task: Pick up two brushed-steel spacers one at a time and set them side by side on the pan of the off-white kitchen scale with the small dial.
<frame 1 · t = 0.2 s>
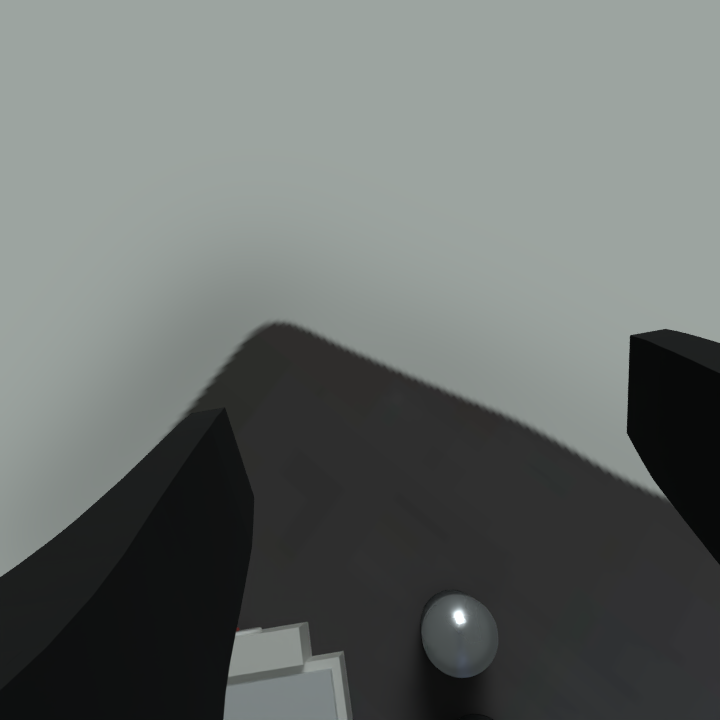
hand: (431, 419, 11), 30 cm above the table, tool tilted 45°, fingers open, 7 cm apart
spacer a: (452, 624, 37), on the table
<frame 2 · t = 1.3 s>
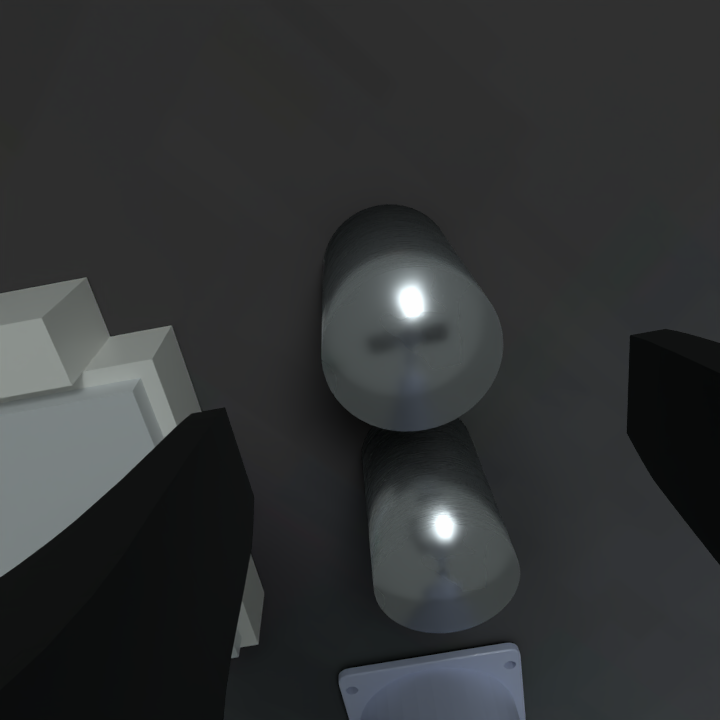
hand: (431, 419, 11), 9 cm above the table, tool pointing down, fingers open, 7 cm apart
spacer b: (417, 453, 22), on the table
spacer a: (387, 269, 19), on the table
scale: (62, 503, 22), on the table
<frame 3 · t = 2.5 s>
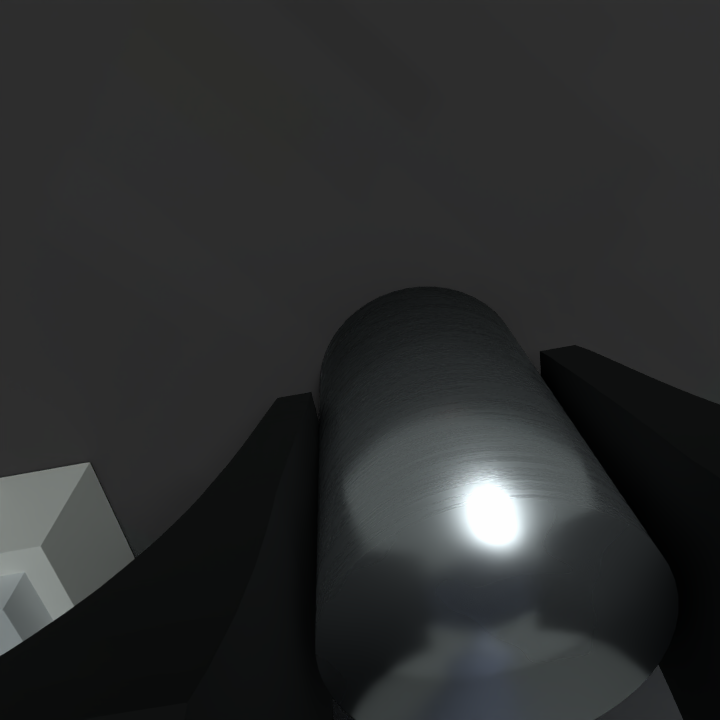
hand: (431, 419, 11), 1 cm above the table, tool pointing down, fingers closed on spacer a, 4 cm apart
spacer a: (420, 381, 12), on the table, touching gripper
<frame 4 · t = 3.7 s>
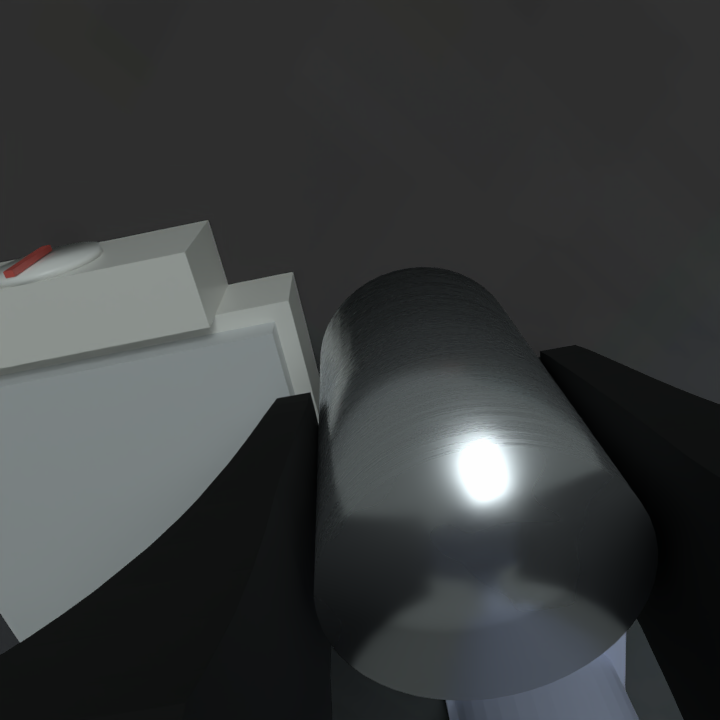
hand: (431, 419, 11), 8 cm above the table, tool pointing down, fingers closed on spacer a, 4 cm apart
spacer a: (417, 360, 12), point 6 cm above the table, touching gripper
scale: (166, 466, 21), on the table
when the fingers open (6 cm above the table, at t = 5.0 s): spacer a stays where it is, resting on scale.
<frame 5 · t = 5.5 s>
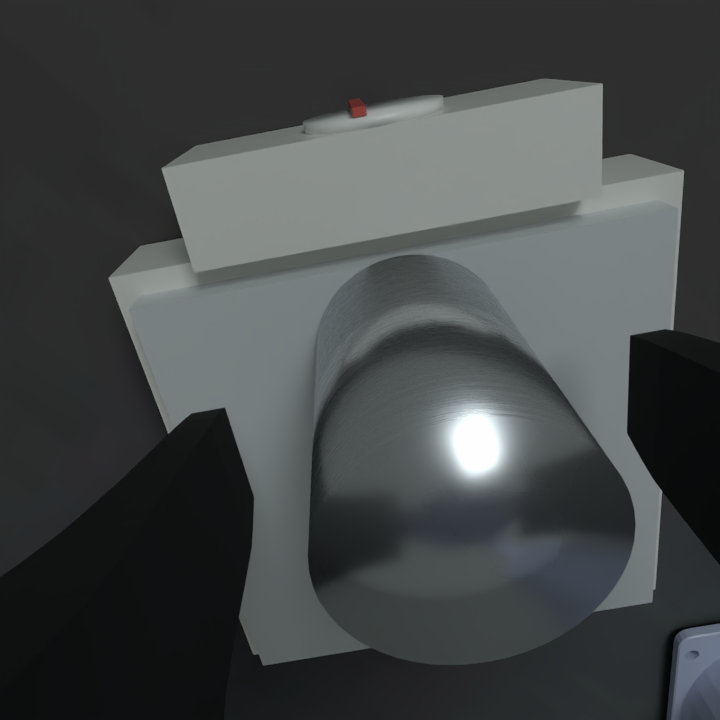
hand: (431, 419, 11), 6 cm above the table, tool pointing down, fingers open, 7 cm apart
spacer a: (411, 346, 13), point 3 cm above the table, touching scale
scale: (414, 409, 17), on the table
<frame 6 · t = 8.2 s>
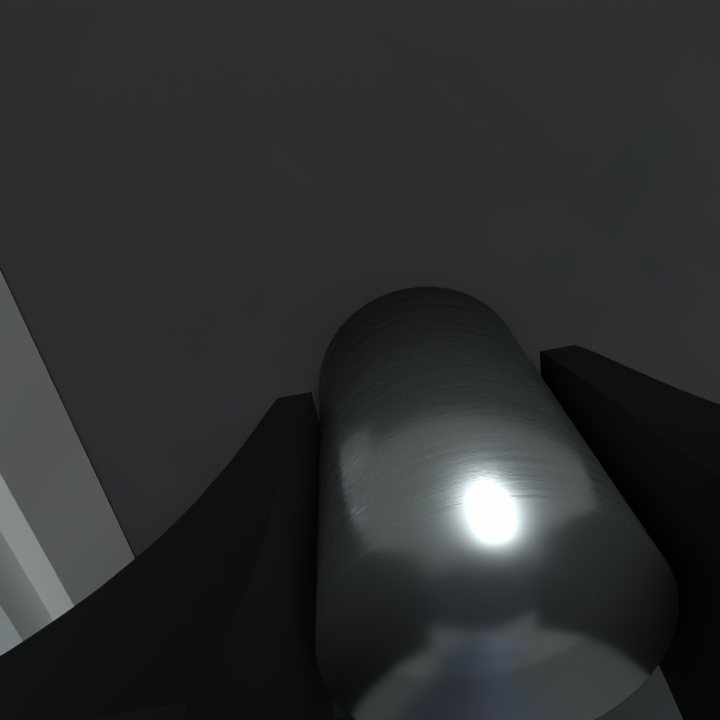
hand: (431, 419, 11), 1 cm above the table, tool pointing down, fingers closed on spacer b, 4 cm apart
spacer b: (420, 381, 12), on the table, touching gripper
when the fingers open (6 cm above the table, at t = 10.7 s): spacer b stays where it is, resting on scale.
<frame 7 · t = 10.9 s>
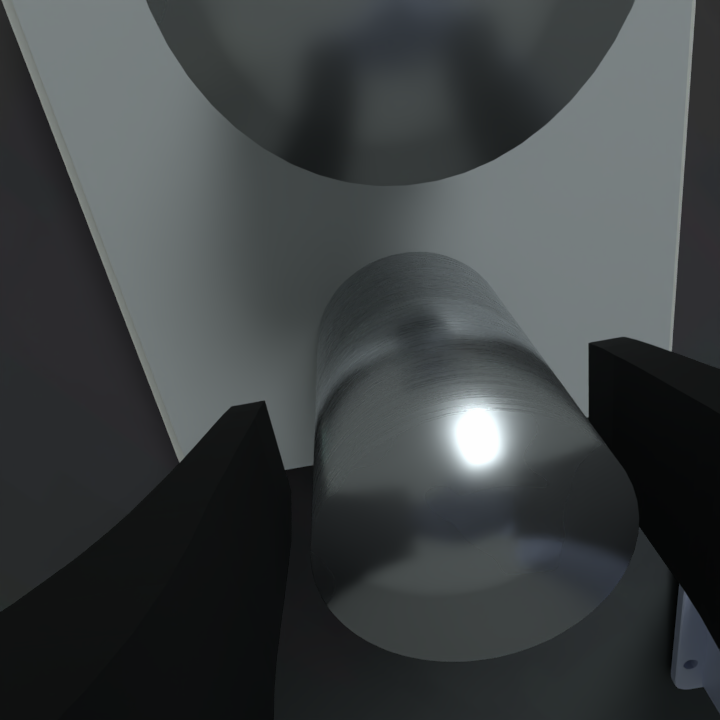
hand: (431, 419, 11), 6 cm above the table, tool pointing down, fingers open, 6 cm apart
spacer b: (412, 344, 13), point 3 cm above the table, touching scale
scale: (378, 179, 14), on the table
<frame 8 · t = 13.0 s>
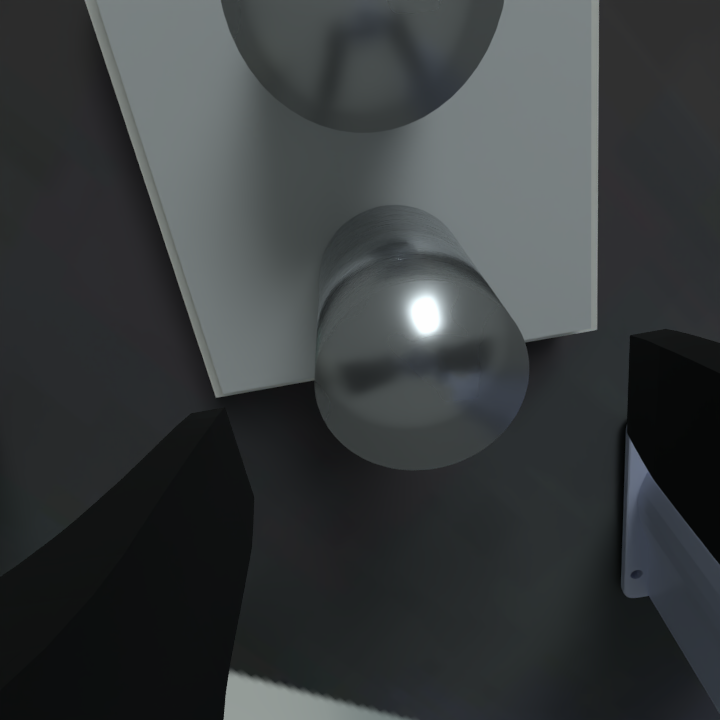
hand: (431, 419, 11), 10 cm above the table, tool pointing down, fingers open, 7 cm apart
spacer b: (392, 278, 17), point 3 cm above the table, touching scale
spacer a: (349, 11, 14), point 3 cm above the table, touching scale
scale: (367, 154, 18), on the table
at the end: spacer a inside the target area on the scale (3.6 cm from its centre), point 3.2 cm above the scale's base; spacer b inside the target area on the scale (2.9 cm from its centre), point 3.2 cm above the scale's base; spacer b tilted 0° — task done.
